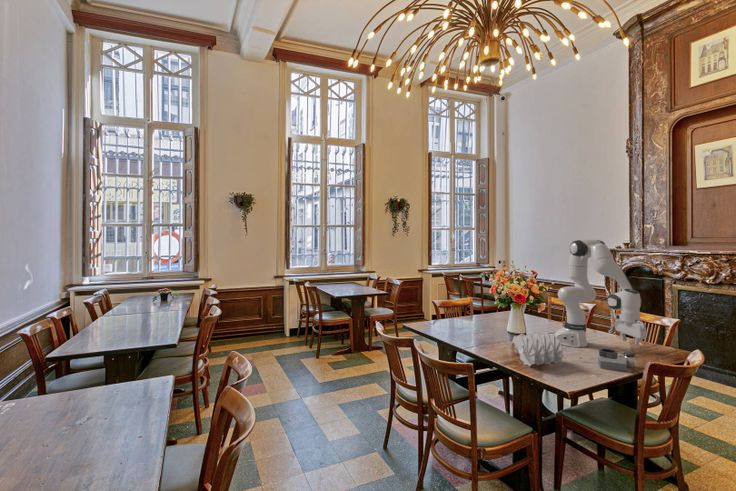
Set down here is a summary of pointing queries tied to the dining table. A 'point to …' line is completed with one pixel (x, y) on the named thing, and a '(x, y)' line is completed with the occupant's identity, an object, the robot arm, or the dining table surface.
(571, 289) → the robot arm
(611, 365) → the grey stacked block
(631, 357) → the lens
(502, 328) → the dining table surface
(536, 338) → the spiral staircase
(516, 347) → the teacup with lid
